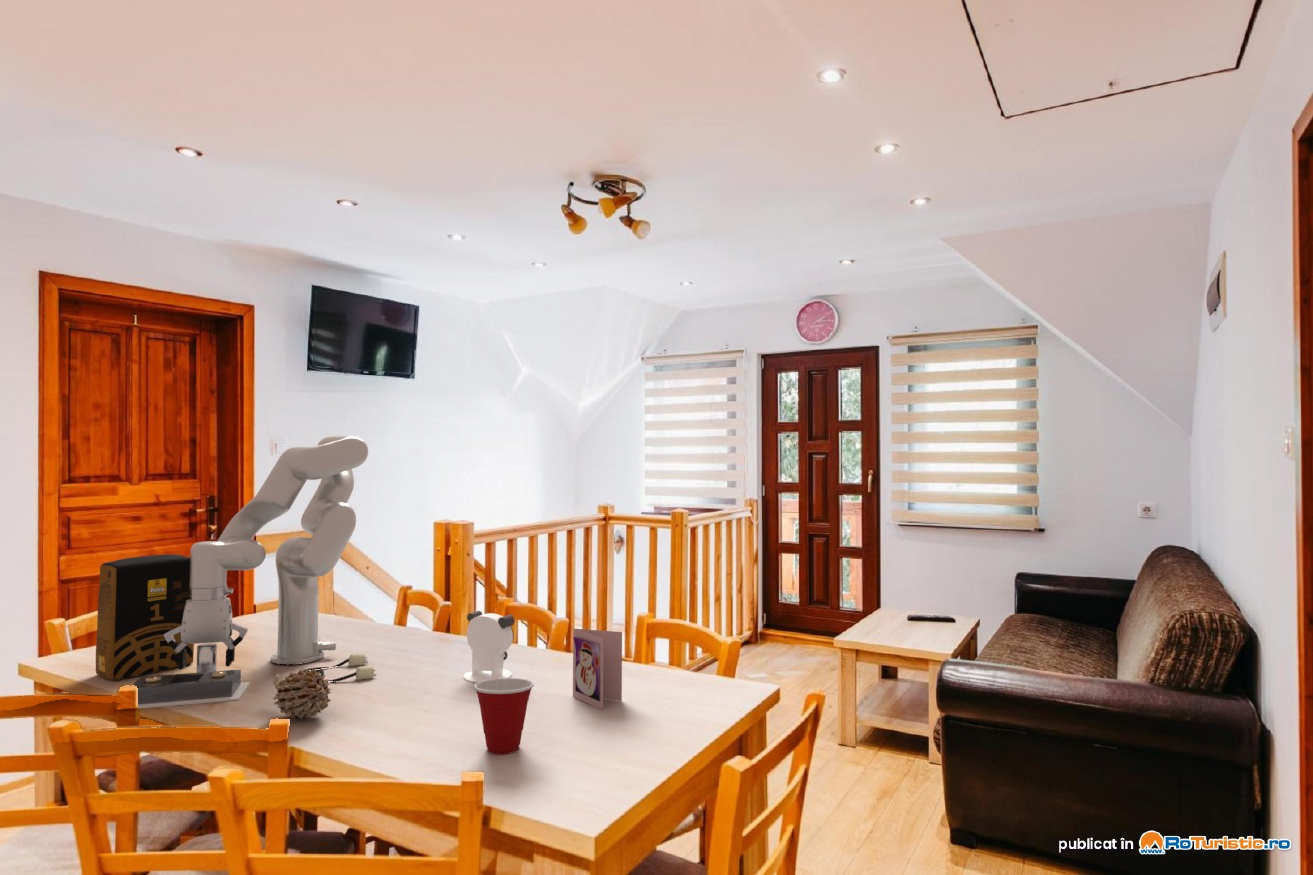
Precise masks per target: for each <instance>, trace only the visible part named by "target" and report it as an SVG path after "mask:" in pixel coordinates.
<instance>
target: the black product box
mask: <svg viewBox="0 0 1313 875" xmlns="http://www.w3.org/2000/svg"><path fill="white" fill-rule="evenodd" d="M98 586H99V587H98V595H97V625H96V626H97V627H96V640H95V641H96V642H95V673H96V675H97V676H99V677H100V678H101V677H102V678H104V679H107V680H110V681H113V682H115V681H121V680H125V679H126V680H127V679H131V678H136V677H142V676H145V675H151V674H155V672H156V673H160V672H163V671H168V670H173V669H177V668H179V665H177V653H176V652H175V650H174V649H173V648H172V647H170V646H169V645H168V642H167V641H166V639H165V637H164V634H165V633H167V632H169V631H171V630H173V629H175V628H177V627H179V626H181V625H182V619H183V612H184V607H185V604H186V601H187V600H189V589H190V556H186V555H181V554H174V553H173V554H170V553H167V554H153V555H152V554H151V555H144V556H143V555H141V556H135V557H127V558H121V559H116V560H113V561H108V562H103V563H102V564H101V565H100V567H99V585H98ZM173 637H174V639H175V640H176V641H177V642H178V643H181V642H182V641H181V632H179V633H177V634H175V635H173ZM194 647H195V644H187V645H186V646H185V649H186V666H189V665H191V664H193V663H194V653H195V652H194V650H195V648H194Z"/></svg>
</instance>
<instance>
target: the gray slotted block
mask: <svg viewBox="0 0 1313 875" xmlns="http://www.w3.org/2000/svg"><path fill="white" fill-rule="evenodd" d="M241 674H242V669H240V668H239V669H228V670H216V671H212V672H199V673H197V672H188V673H187V672H186V673H174V674H161V675H158V674H157V675H148V676H145V675H144V676H140V677H139V678H138V679H137V680H136V681H135V682H133V683H132V684H131V685H135V686H137V688H138V705H140V704H152V703H164V702H176V701H188V700H199V699H211V698H223V697H232V696H233V694H234V693H235V692H236V690H237V689H238V687H239V686H240V685H241V683H242V682H241V678H242V677H241Z"/></svg>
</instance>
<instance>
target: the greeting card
mask: <svg viewBox="0 0 1313 875" xmlns="http://www.w3.org/2000/svg"><path fill="white" fill-rule="evenodd" d="M572 631H573V632H572V634H573V636H572V641H573V642H572V697H573V698H575V699H578V700H581V701H582V702H585V703H586V704H589V705H591V706H594V707H596V708H597V709H601V710H603V711H604V700H606V701H608V700H609V701H610V700H611V701H617V702H618V701H619V702H622V700H623V698H622V697H623V696H622V694H623V688H622V687H623V686H622V685H623V631H615V630H614V631H613V630H599V629H587V628H586V629H585V628H572Z"/></svg>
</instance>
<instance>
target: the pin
mask: <svg viewBox="0 0 1313 875" xmlns="http://www.w3.org/2000/svg"><path fill="white" fill-rule="evenodd" d="M196 649H197V650H196V673H199V672H212V671H217V663H218V662H217V661H218V660H217V659H218V658H217V653H218V652H217V651H218V644H217V643H216V642H215V643H200V644H198V645H197V646H196Z"/></svg>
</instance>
